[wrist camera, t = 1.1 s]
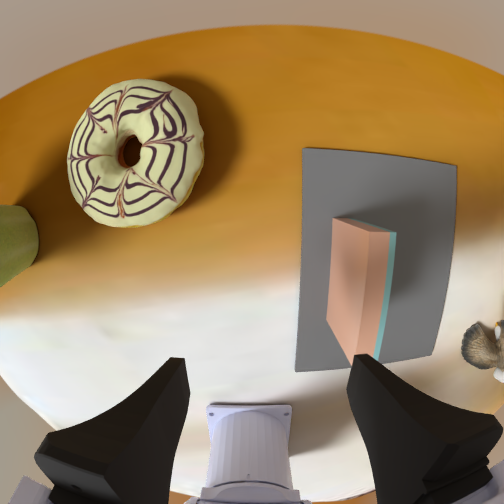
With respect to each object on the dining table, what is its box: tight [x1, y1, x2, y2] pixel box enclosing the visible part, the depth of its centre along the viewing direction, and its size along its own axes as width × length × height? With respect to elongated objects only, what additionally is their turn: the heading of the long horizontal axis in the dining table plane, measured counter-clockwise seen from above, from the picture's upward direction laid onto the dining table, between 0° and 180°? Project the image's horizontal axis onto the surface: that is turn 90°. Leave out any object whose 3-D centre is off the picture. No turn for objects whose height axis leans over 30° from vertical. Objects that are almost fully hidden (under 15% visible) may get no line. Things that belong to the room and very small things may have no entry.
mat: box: [295, 148, 457, 372], centre depth 22 cm, size 18×14×1 cm
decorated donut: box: [67, 79, 205, 228], centre depth 18 cm, size 10×11×4 cm
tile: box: [326, 218, 396, 366], centre depth 18 cm, size 8×2×7 cm, turn 0°
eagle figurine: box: [461, 320, 504, 383], centre depth 21 cm, size 8×7×9 cm
